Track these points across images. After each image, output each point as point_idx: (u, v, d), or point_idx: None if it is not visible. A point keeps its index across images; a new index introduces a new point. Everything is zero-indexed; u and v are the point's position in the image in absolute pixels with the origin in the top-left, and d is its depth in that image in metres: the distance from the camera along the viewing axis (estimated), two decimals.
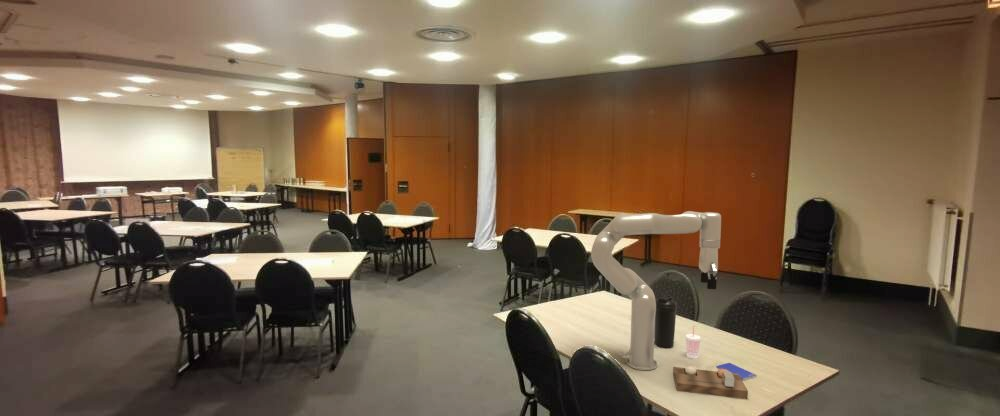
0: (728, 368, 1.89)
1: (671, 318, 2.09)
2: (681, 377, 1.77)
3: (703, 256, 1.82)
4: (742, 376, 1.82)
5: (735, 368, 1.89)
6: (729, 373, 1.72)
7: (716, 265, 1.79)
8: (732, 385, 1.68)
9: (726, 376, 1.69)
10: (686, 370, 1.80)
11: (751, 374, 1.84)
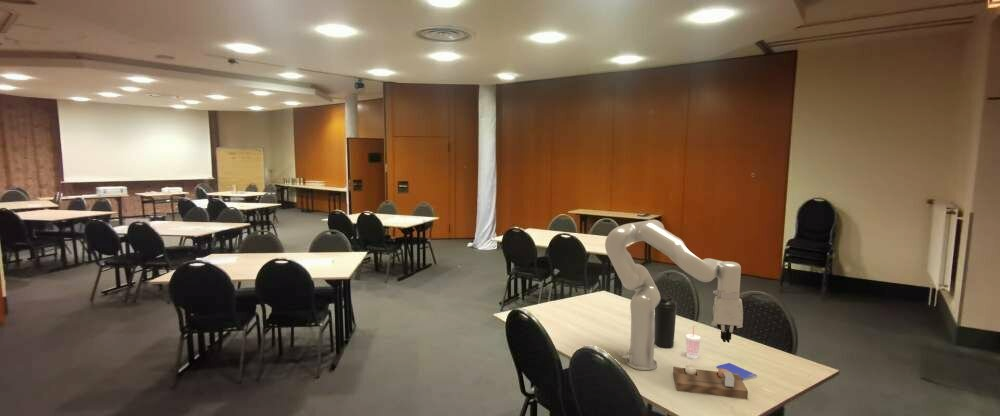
0: (728, 368, 1.89)
1: (671, 318, 2.09)
2: (681, 377, 1.77)
3: (735, 309, 1.72)
4: (742, 376, 1.82)
5: (735, 368, 1.89)
6: (729, 373, 1.72)
7: None
8: (732, 385, 1.68)
9: (726, 376, 1.69)
10: (686, 370, 1.80)
11: (751, 374, 1.84)
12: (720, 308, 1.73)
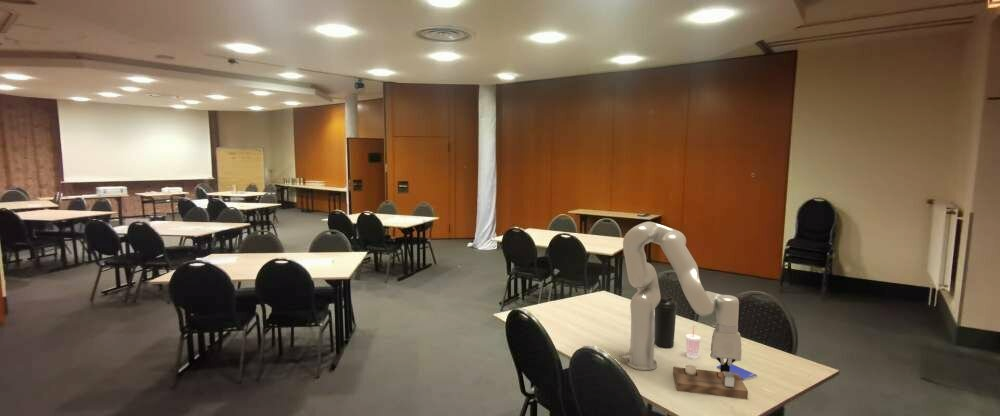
0: None
1: (671, 318, 2.09)
2: (681, 377, 1.77)
3: (734, 343, 1.73)
4: (743, 376, 1.82)
5: (735, 369, 1.88)
6: (729, 373, 1.72)
7: None
8: (732, 385, 1.68)
9: (726, 376, 1.69)
10: (686, 370, 1.80)
11: (751, 374, 1.84)
12: (719, 342, 1.75)
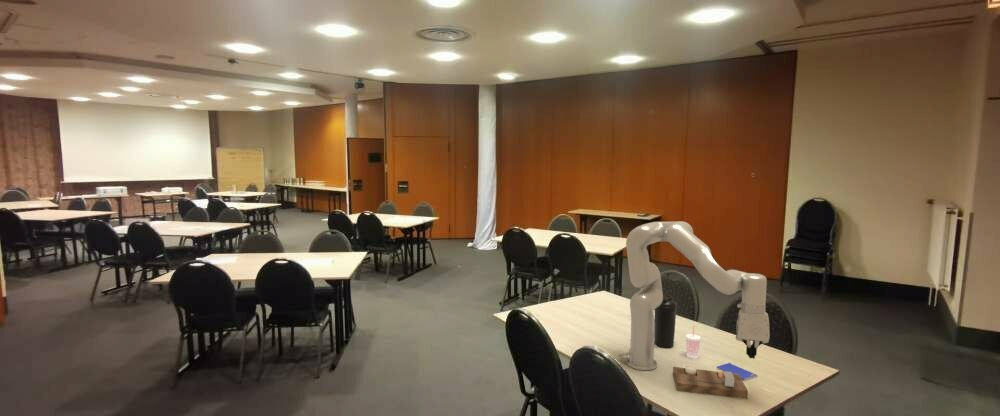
0: (729, 368, 1.89)
1: (671, 318, 2.09)
2: (681, 377, 1.77)
3: (761, 324, 1.64)
4: (743, 376, 1.82)
5: (735, 369, 1.88)
6: (729, 373, 1.72)
7: None
8: (732, 385, 1.68)
9: (726, 376, 1.69)
10: (686, 370, 1.80)
11: (752, 374, 1.83)
12: (745, 323, 1.65)
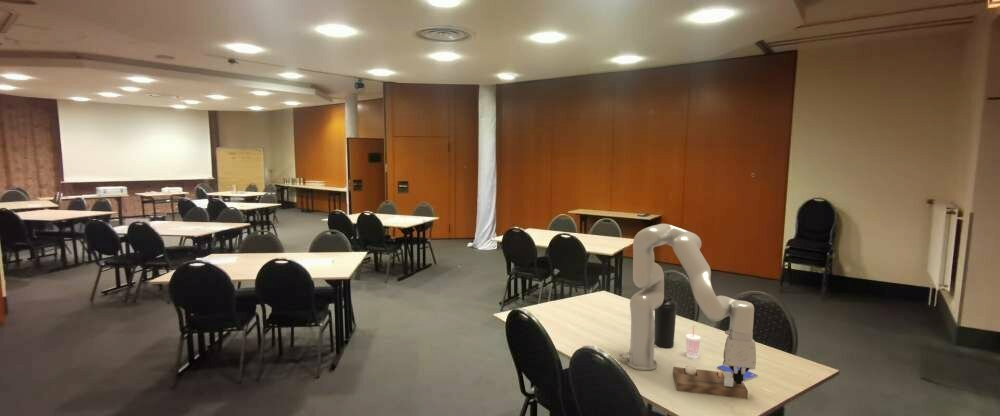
0: (729, 369, 1.88)
1: (671, 318, 2.09)
2: (681, 377, 1.77)
3: (748, 351, 1.66)
4: (744, 376, 1.81)
5: None
6: (728, 373, 1.72)
7: None
8: (731, 385, 1.69)
9: (725, 376, 1.69)
10: (686, 370, 1.80)
11: (752, 374, 1.83)
12: (732, 349, 1.67)
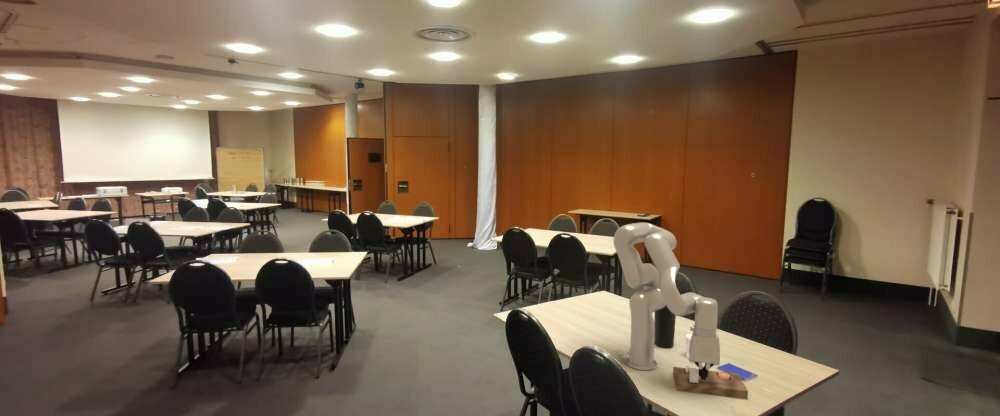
0: (729, 369, 1.88)
1: (671, 318, 2.09)
2: (681, 377, 1.77)
3: (712, 347, 1.69)
4: (744, 377, 1.81)
5: (735, 369, 1.88)
6: (694, 369, 1.75)
7: None
8: (696, 381, 1.72)
9: (691, 372, 1.72)
10: (686, 370, 1.80)
11: (752, 374, 1.83)
12: (697, 345, 1.70)
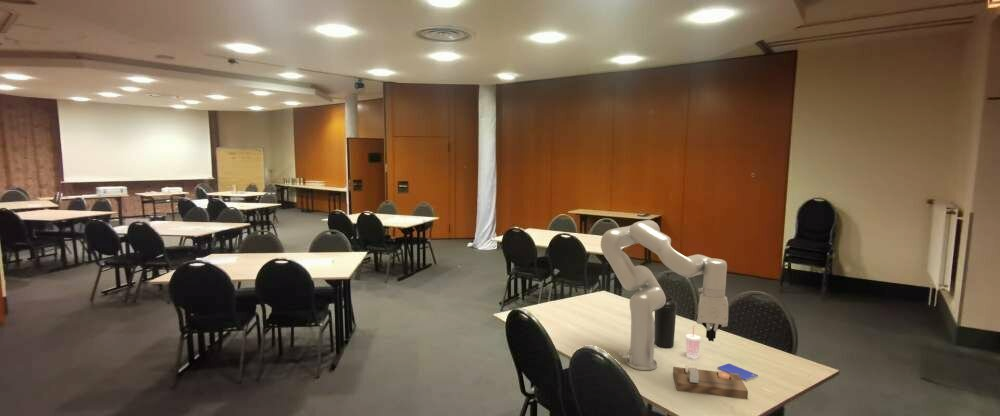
0: (729, 369, 1.88)
1: (671, 318, 2.09)
2: (681, 377, 1.77)
3: (720, 307, 1.67)
4: (745, 377, 1.81)
5: (735, 369, 1.88)
6: (694, 369, 1.75)
7: None
8: (697, 381, 1.72)
9: (691, 372, 1.72)
10: (686, 370, 1.80)
11: (753, 374, 1.83)
12: (705, 306, 1.69)
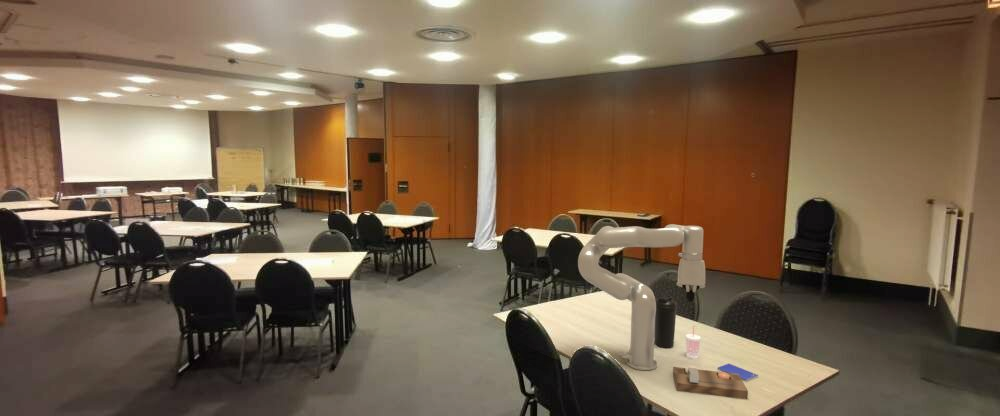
0: (729, 369, 1.88)
1: (671, 318, 2.09)
2: (681, 377, 1.77)
3: (698, 270, 1.83)
4: (745, 377, 1.81)
5: (736, 369, 1.88)
6: (694, 369, 1.75)
7: None
8: (697, 381, 1.72)
9: (691, 372, 1.72)
10: (686, 370, 1.80)
11: (753, 374, 1.83)
12: (684, 269, 1.84)
